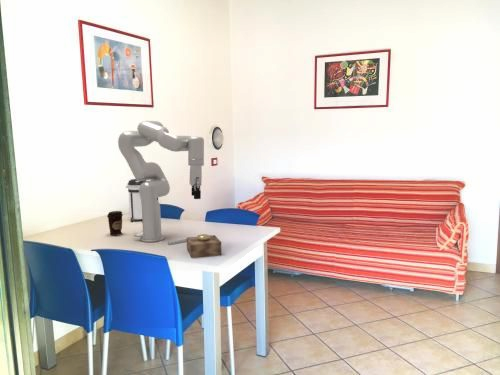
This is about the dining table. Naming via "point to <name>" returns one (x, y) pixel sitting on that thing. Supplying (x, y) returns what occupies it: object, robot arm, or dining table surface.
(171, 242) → the adjustable wrench
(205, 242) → the pin block
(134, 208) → the coffee press
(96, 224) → the dining table surface
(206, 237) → the pin
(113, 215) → the coffee cup
